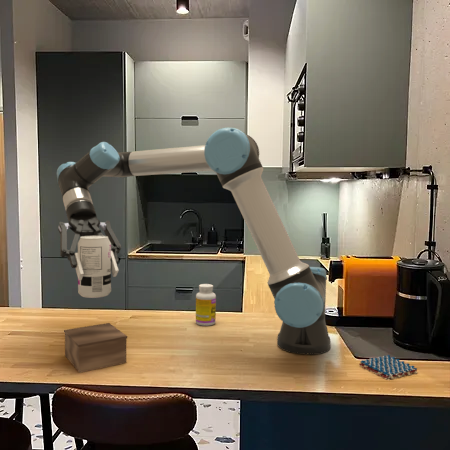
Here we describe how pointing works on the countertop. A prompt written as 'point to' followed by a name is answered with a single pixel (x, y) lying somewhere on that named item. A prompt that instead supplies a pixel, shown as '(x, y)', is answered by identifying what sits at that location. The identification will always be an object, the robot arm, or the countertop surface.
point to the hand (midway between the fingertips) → (98, 275)
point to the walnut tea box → (95, 347)
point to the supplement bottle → (205, 305)
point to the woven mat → (388, 367)
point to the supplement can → (95, 266)
